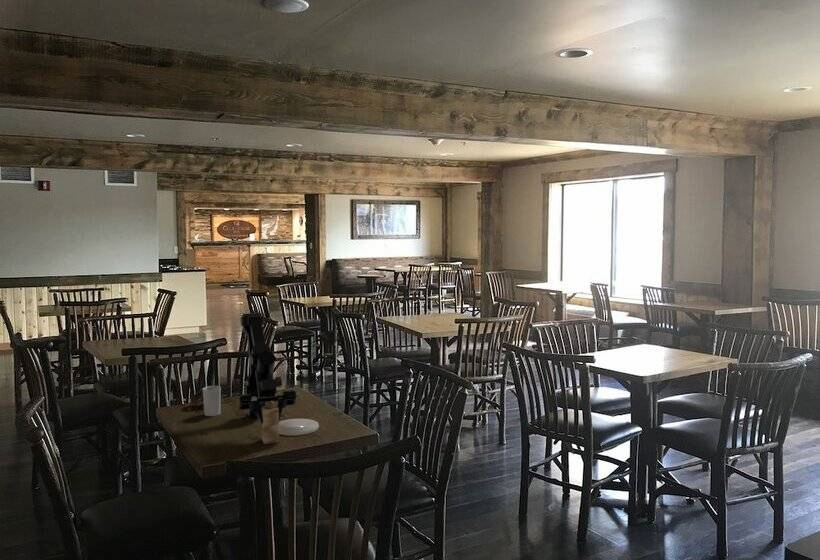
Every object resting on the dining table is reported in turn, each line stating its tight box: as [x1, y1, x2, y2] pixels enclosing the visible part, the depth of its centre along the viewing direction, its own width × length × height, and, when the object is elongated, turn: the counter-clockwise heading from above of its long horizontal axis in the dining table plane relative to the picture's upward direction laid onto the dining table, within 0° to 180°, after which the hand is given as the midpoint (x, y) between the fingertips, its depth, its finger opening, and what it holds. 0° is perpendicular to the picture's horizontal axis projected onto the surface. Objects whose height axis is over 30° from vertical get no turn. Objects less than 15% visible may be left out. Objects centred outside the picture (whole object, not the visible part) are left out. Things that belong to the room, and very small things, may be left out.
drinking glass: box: [202, 385, 222, 417], centre depth 243 cm, size 7×7×10 cm
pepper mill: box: [260, 401, 280, 445], centre depth 212 cm, size 5×5×13 cm
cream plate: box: [279, 418, 320, 437], centre depth 225 cm, size 16×16×1 cm
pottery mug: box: [189, 388, 203, 405], centre depth 256 cm, size 12×10×8 cm
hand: (270, 422), depth 211 cm, fingers open, 5 cm apart
